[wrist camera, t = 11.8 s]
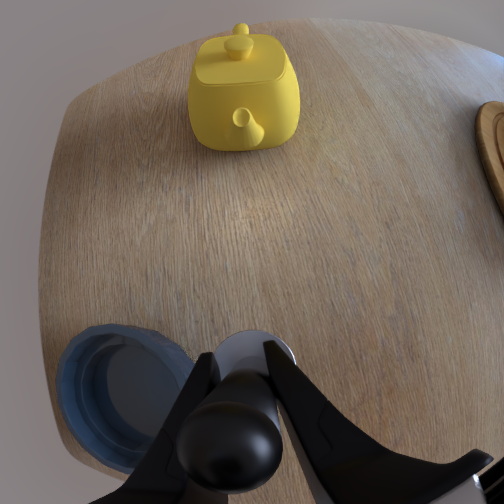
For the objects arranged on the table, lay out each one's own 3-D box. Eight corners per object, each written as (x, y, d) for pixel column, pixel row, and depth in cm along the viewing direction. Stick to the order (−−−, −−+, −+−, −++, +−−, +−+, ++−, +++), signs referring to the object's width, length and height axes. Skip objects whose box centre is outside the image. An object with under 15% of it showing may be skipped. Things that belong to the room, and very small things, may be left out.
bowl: (202, 469, 19) (189, 493, 15) (83, 429, 20) (56, 441, 16) (218, 342, 23) (207, 344, 18) (92, 314, 24) (62, 308, 19)
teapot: (307, 196, 26) (329, 119, 16) (189, 202, 26) (150, 130, 16) (288, 75, 31) (292, 5, 20) (201, 80, 31) (186, 12, 21)
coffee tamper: (306, 354, 16) (426, 408, 3) (266, 415, 15) (267, 579, 2) (242, 315, 16) (172, 261, 4) (203, 376, 16) (59, 461, 3)
